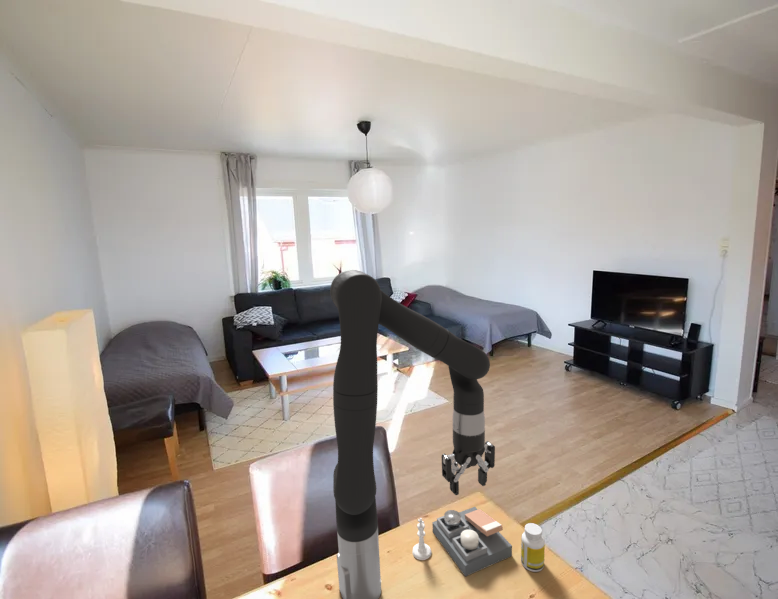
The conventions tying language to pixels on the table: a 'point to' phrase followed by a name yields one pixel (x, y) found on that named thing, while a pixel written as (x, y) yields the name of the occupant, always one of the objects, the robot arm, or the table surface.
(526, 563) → the supplement bottle
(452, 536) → the panel
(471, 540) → the white button
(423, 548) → the chess piece
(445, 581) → the table surface
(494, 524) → the rocker
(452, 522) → the metal button
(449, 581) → the table surface
